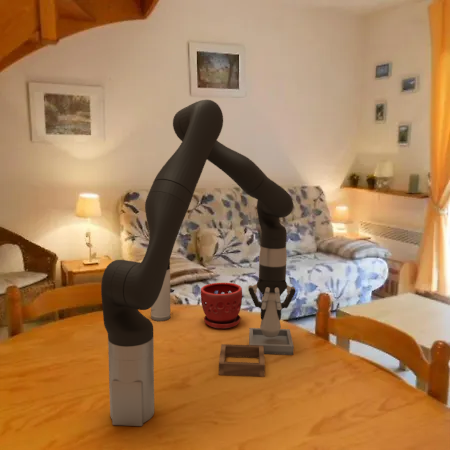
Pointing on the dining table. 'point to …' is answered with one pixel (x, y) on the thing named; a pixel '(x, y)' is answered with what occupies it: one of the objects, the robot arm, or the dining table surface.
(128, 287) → the robot arm
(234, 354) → the rectangular frame
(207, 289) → the plant pot
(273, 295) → the salt shaker
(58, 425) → the dining table surface
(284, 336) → the tray
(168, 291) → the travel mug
